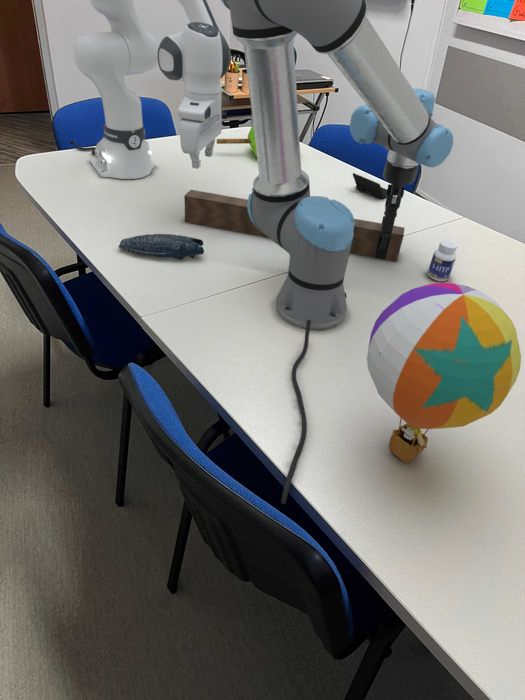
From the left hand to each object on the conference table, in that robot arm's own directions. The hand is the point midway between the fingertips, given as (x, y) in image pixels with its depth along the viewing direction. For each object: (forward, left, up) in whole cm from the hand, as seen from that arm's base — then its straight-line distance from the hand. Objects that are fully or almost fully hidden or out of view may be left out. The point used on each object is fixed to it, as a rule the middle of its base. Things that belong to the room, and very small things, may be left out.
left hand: (202, 161), depth 133 cm
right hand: (+40, +29, -15) cm, 51 cm away
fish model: (+10, -19, -16) cm, 27 cm away
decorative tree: (-35, +48, -16) cm, 62 cm away
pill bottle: (+55, +33, -16) cm, 66 cm away
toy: (+86, -20, -16) cm, 90 cm away
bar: (+20, +15, -16) cm, 30 cm away
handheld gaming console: (+10, +59, -16) cm, 62 cm away
